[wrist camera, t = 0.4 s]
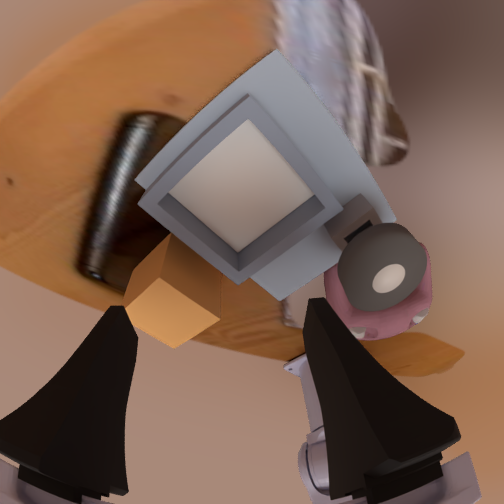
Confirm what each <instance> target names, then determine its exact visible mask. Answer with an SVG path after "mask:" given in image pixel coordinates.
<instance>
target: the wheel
mask: <svg viewBox="0 0 504 504" xmlns="http://www.w3.org/2000/svg"><path fill="white" fill-rule="evenodd" d="M426 267H427V255H426V252H425V250H424V249H423V247H422V246H421V245H420V244H419V242H418V241H417V240H416V239H415V238H414V237H413V235H412V234H411V233H410V232H409V231H408V230H407V229H406V228H405V227H403V226H402V225H399V224H396V223H380V224H377V225H374V226H371V227H369V228H367V229H365V230H363V231H362V232H360V233H359V234H358V235H356V236H355V237H354V238H353V239H352V240H351V241H350V242H349V243H348V244H347V246H346V247H345V249H344V250H343V252H342V254H341V256H340V258H339V262H338V267H337V272H338V277H339V280H340V282H341V284H342V287H343V289H344V291H345V294H346V296H347V298H348V300H349V302H350V303H351V305H352V306H354V307H355V308H357V309H359V310H362V311H369V312H371V311H380V310H384V309H387V308H389V307H392V306H394V305H396V304H398V303H399V302H401V301H402V300H404V299H405V298H406V297H408V296H409V295H410V294H411V293H412V292H413V291H414V290H415V289H416V287H417V286H418V285H419V283H420V282H421V280H422V278H423V276H424V274H425V271H426Z"/></svg>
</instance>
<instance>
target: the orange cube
mask: <svg viewBox="0 0 504 504" xmlns="http://www.w3.org/2000/svg"><path fill="white" fill-rule="evenodd" d="M121 306H124V307H125V309H126V312H127V314H128V316H129V319H130V321H131V323H132V325H134V326H136V327H137V328H139V329H141V330H142V331H144V332H146V333H147V334H149V335H151V336H152V337H154V338H156V339H158V340H159V341H161V342H163V343H165V344H167V345H168V346H170V347H172V348H176V347H178V346H179V345H181V344H183V343H184V342H186V341H187V340H189V339H191V338H192V337H194V336H195V335H197V334H199V333H200V332H202V331H203V330H205V329H206V328H208V327H210V326H211V325H213V324H214V323H216V322H217V321H219V320H220V319H221V272H220V271H219V270H218V269H217V268H215V267H214V266H213V265H211V264H210V263H209V262H208V261H206V260H205V259H204V258H203V257H201V256H200V255H199V254H198V253H196V252H195V251H194V250H193V249H191V248H190V247H189V246H188V245H186V244H185V243H184V242H183V241H181V240H180V239H179V238H178V237H176V236H175V235H174V234H173V233H172V232H171V233H170V234H169V235H168V236H167V237H166V238H165V239H164V240H163V241H162V242H161V243H160V244H159V245H158V246H157V247H156V248H155V249H154V250H153V251H152V252H151V253H149V254H148V255H147V256H146V257H145V258H144V259H143V260H142V262H141V263H140V264H139V265H138V266H137V267H136V268H135V269H134V270H133V273H132V275H131V278H130V281H129V284H128V286H127V289H126V292H125V295H124V298H123V301H122V304H121Z"/></svg>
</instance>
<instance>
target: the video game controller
mask: <svg viewBox="0 0 504 504" xmlns="http://www.w3.org/2000/svg"><path fill="white" fill-rule="evenodd" d="M419 244H420V245H421V246H422V247H423V249H424V250H425V252H426V255H427V267H426V271H425V274H424V276H423V278H422V280H421V282H420V283H419V285H418V286H417V287H416V289H415V290H414V291H413V292H412V293H411V294H410V295H409V296H408V297H406V298H405V299H404V300H402V301H401V302H399V303H398V304H396V305H394V306H392V307H389V308H387V309H384V310H380V311H371V312H369V311H362V310H359V309H357V308H355V307H354V306H352V305H351V303H350V302H349V300H348V298H347V296H346V294H345V291H344V289H343V287H342V284H341V282H340V280H339V277H338V272H337V267H338V263H336V264H335V265H334V266H332V267H331V268H329V269H328V270H326V271H325V272H324V285H325V291H326V299H327V301H328V303H329V304H330V305H331V307H332V308H333V309H334V311H335V312H336V313H337V315H338V316H339V317H340V319H341V320H342V321H343V323H344V324H345V325H346V326H347V328H348V329H349V330H350V331H351V333H352V334H353V335H354V336H355V337H356V339H359V340H378V339H384V338H389V337H392V336H395V335H397V334H400V333H402V332H404V331H406V330H408V329H409V328H411V327H412V326H414V325H416V324H418V323H419V322H420V321H421V320H422V319H423V318H424V317H425V316H426V315H427V314H428V311H429V308H430V305H431V302H432V281H431V264H430V257H429V254H428V251H427V249H426V247H425V246H424V245H423V244H422V243H419Z"/></svg>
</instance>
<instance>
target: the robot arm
mask: <svg viewBox="0 0 504 504" xmlns="http://www.w3.org/2000/svg"><path fill="white" fill-rule="evenodd" d="M303 338H304V345H305V351H306V354H304V355H302V356H300V357H298V358H296V359H294V360H292V361H290V362H288V363H286V364H285V365H284V369H285V370H286V371H289V372H290V373H292V374H294V375H296V376H298V377H300V378H301V383H302V388H303V393H304V398H305V403H306V409H307V413H308V419H309V424H310V429H311V433H310V434H307V435H306V436H307V442H305V443H303V445H302V447H301V449H300V451H299V453H298V467H299V472H300V476H301V479H302V481H303V483H304V485H305V486H306V488H307V490H308V493H309V496H310V499H311V501H312V502H313V504H474V503H475V502H477V501H478V500H479V499H481V497H482V496H481V493H480V488H479V485H478V481H477V477H476V474H475V470H474V467H473V464H472V461H471V457H470V454H469V452H465V453H464V454H462V455H460V456H458V457H456V458H455V459H453V460H451V461H449V462H447V463H445V464H443V465H440V460H442V458H443V457H442V454H441V451H443V450H445V449H447V448H448V447H450V446H451V445H453V444H455V443H456V442H458V441H459V440H460V438H461V435H460V432H459V429H458V426H457V424H456V421H455V419H454V417H452V416H450V415H448V414H446V413H445V412H442V411H441V410H439V409H437V408H436V407H434V406H432V405H430V404H429V403H427V402H426V401H424V400H423V399H421V398H420V397H419V396H417V395H416V394H415V393H413V392H412V391H411V390H409V389H408V388H407V387H405V386H404V385H403V384H401V383H400V382H399V381H398V380H397V379H396V378H394V377H393V376H392V375H391V374H390V373H389V372H388V371H387V370H386V369H385V368H383V367H382V366H381V365H380V364H379V363H378V362H377V361H376V360H375V359H374V358H373V356H372V355H371V354H370V353H369V352H368V351H367V350H366V349H365V348H364V347H363V346H362V344H361V343H360V342H359V341H358V340H357V339H356V337H355V336H354V335H353V334H352V333H351V331H350V330H349V329H348V328H347V326H346V325H345V324H344V323H343V321H342V320H341V319H340V317H339V316H338V315H337V313H336V312H335V311H334V309H333V308H332V307H331V305H330V304H329V303H328V301H327V300H326V299H325V298H324V297H322V298H312V299H309V300H308V306H307V311H306V317H305V322H304V327H303ZM137 346H138V336H137V334H136V332H135V330H134V328H133V325H132V323H131V321H130V319H129V316H128V314H127V312H126V309H125V307H124V306H110V307H109V308H108V310H107V311H106V312H105V313H104V315H103V316H102V317H101V319H100V320H99V321H98V323H97V324H96V325H95V327H94V328H93V329H92V331H91V332H90V333H89V335H88V336H87V337H86V338H85V340H84V341H83V342H82V344H81V345H80V346H79V348H78V349H77V350H76V351H75V352H74V354H73V355H72V356H71V357H70V359H69V360H68V361H67V362H66V364H65V365H64V366H63V367H62V368H61V369H60V370H59V371H58V372H57V374H56V375H55V376H54V377H53V378H52V379H51V380H50V381H49V382H48V383H47V384H46V385H45V386H44V387H42V388H41V389H40V390H39V391H38V392H37V393H36V394H35V395H34V396H33V397H31V398H30V399H29V400H28V401H27V402H26V403H24V404H23V405H22V406H21V407H19V408H18V409H17V410H15V411H13V412H12V413H10V414H9V415H7V416H6V417H4V418H3V419H1V420H0V453H1V454H3V455H4V456H6V457H8V458H10V459H11V460H13V461H15V462H17V463H19V464H20V466H19V468H16V467H14V466H12V465H11V464H9V463H7V462H5V461H4V460H2V459H0V504H113V503H109V502H105V501H101V496H105V497H109V493H112V494H116V495H121V496H124V495H125V494H126V493H128V492H129V490H128V484H127V477H126V466H125V442H124V441H125V415H126V407H127V401H128V396H129V391H130V386H131V381H132V376H133V372H134V367H135V363H136V356H137Z"/></svg>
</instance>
